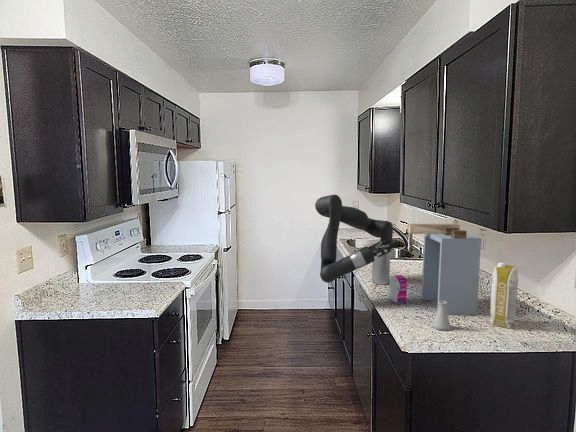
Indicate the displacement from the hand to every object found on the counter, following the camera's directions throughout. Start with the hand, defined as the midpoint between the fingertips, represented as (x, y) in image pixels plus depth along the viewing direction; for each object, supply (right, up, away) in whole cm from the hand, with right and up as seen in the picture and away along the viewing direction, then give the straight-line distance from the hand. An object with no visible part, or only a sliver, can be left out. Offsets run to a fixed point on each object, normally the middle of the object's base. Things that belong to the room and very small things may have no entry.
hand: (394, 241), depth 174 cm
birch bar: (+17, +4, 0) cm, 18 cm away
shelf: (+23, -28, -1) cm, 37 cm away
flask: (+12, -31, -24) cm, 41 cm away
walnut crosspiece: (+23, +3, -9) cm, 25 cm away
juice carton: (+36, -31, -21) cm, 52 cm away
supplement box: (+3, -28, +6) cm, 29 cm away
